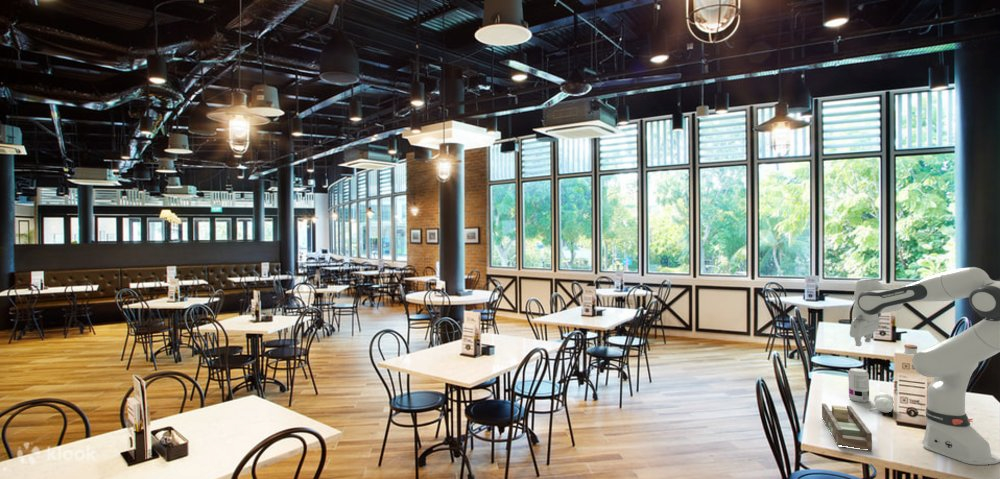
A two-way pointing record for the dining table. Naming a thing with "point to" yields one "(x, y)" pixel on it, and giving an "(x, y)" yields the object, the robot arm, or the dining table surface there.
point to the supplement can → (858, 385)
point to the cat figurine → (883, 402)
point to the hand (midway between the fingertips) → (863, 343)
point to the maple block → (840, 412)
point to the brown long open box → (848, 429)
